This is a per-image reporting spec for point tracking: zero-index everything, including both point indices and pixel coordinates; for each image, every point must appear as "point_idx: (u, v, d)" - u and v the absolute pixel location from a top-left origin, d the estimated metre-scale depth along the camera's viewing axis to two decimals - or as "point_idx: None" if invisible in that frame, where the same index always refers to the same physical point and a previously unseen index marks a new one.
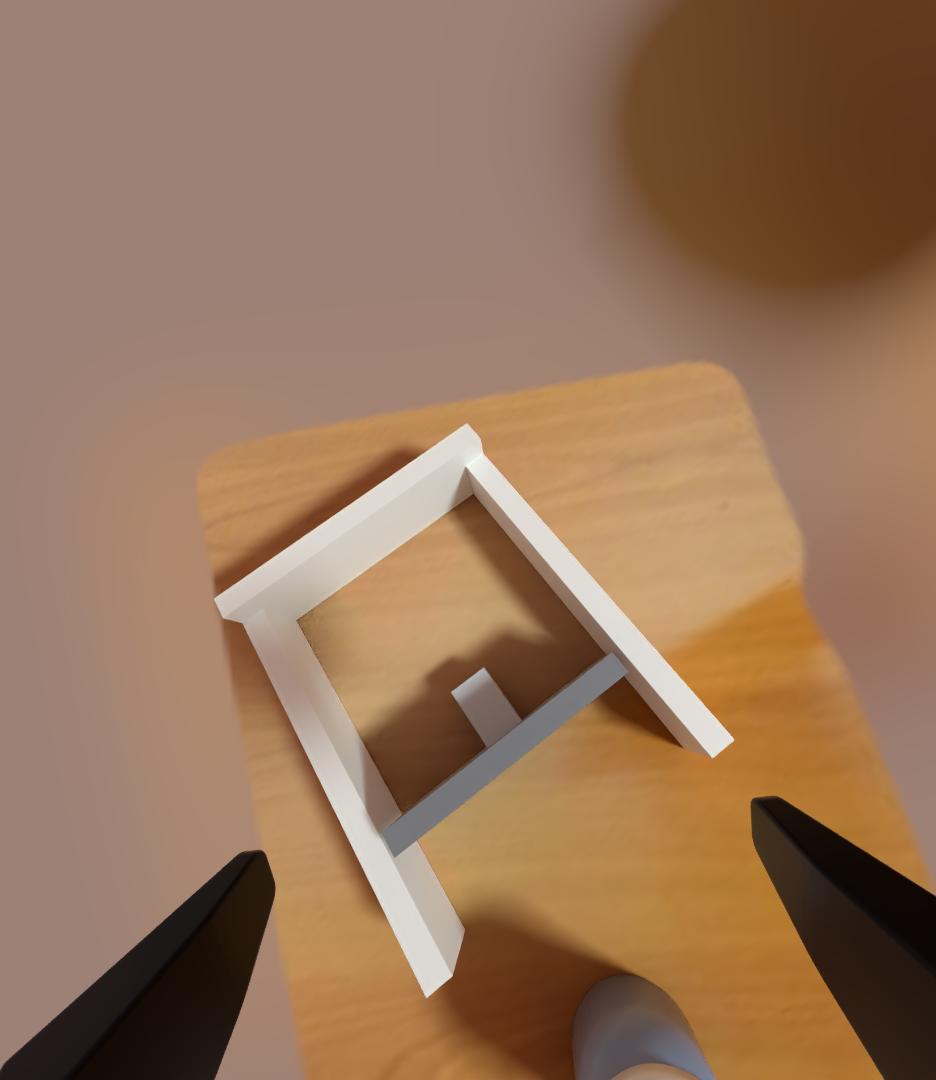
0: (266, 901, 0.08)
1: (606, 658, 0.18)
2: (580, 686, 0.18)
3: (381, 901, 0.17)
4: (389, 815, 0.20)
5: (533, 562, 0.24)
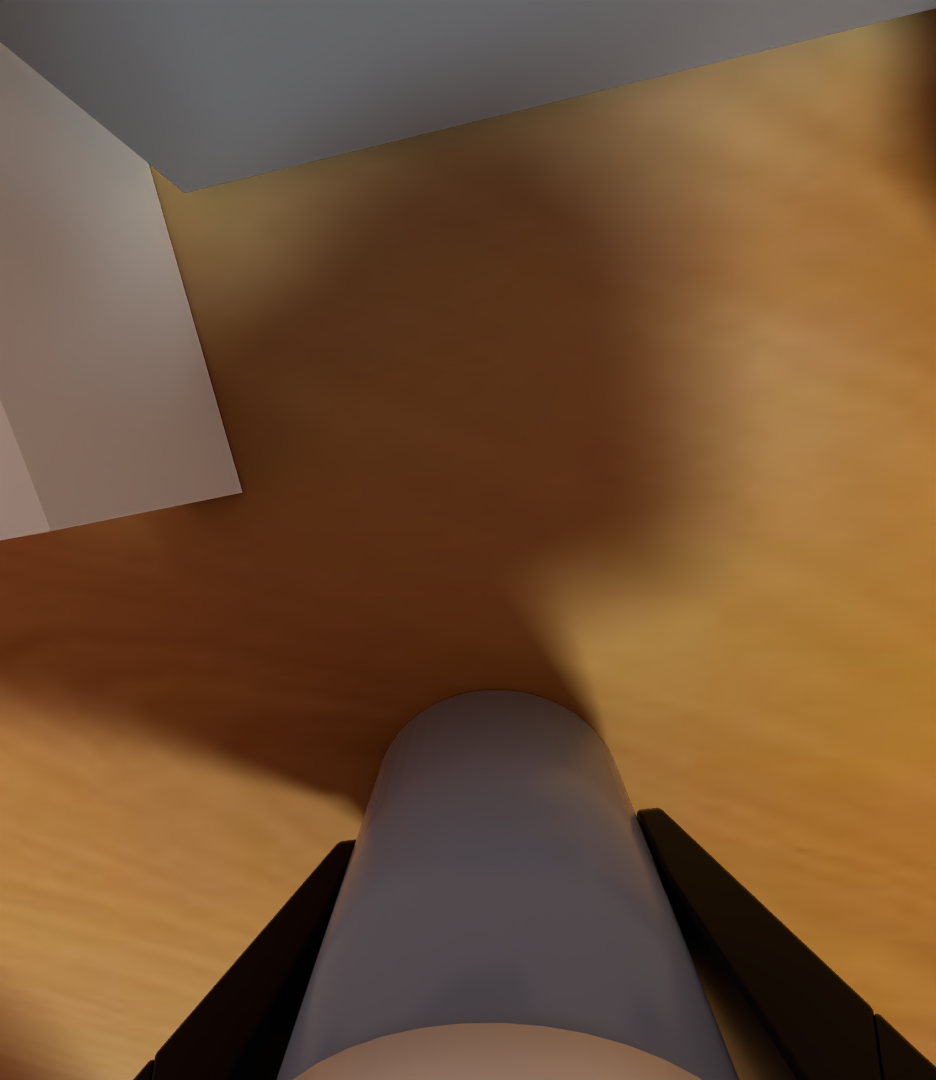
0: None
1: None
2: None
3: None
4: None
5: None
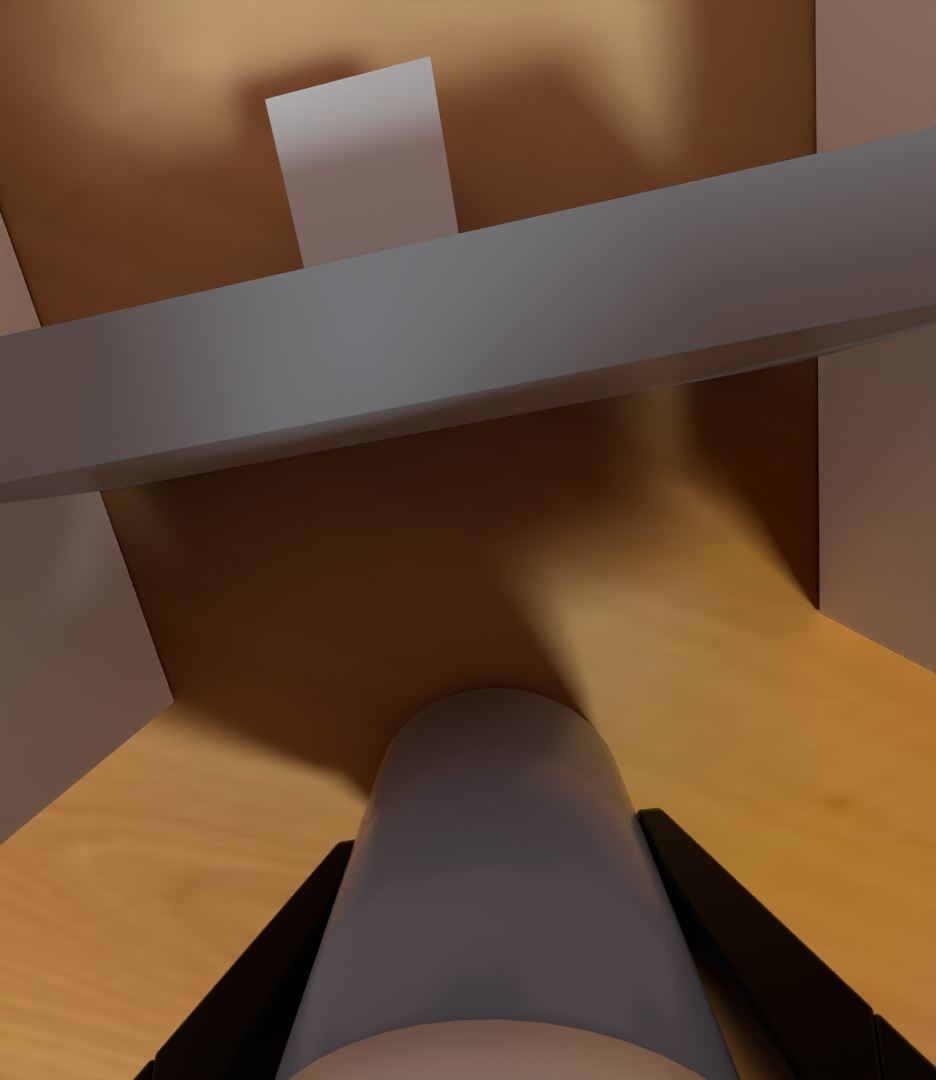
0: None
1: None
2: None
3: None
4: None
5: None
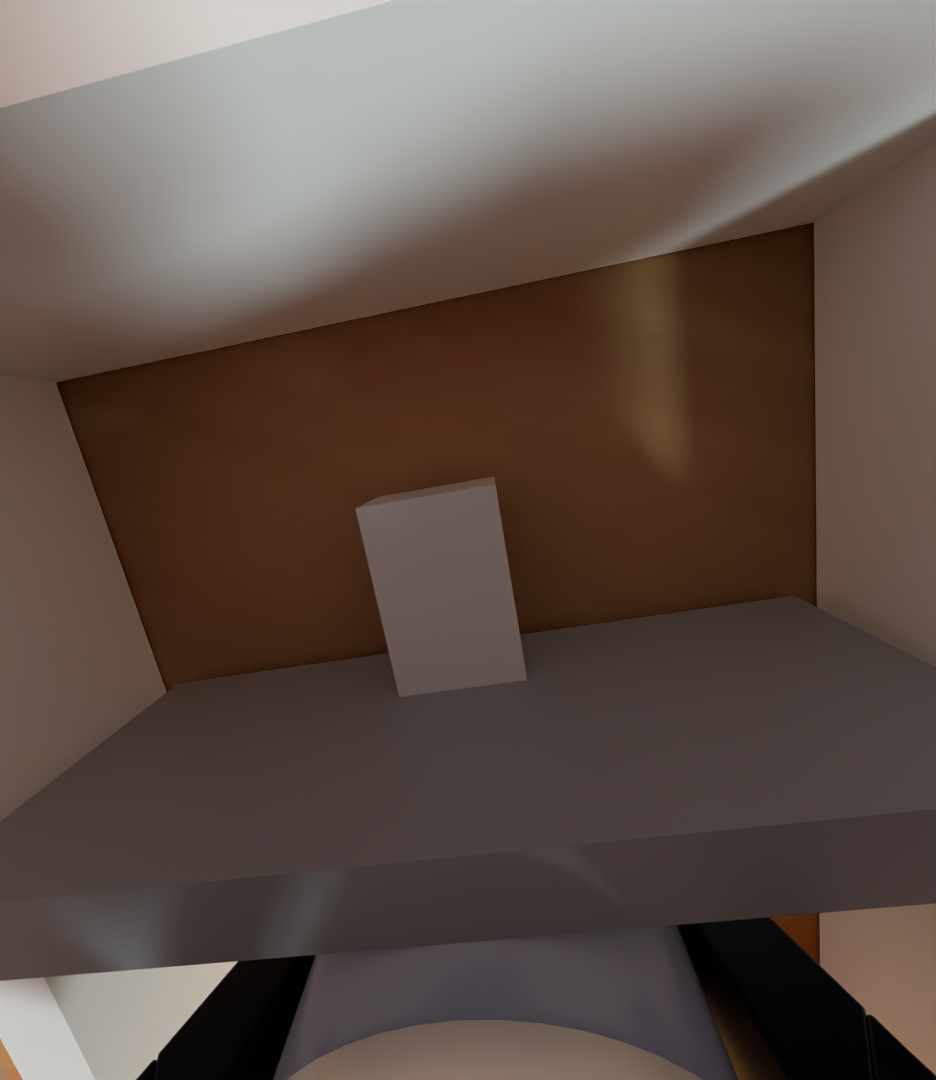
0: None
1: None
2: (904, 843, 0.04)
3: None
4: (198, 967, 0.09)
5: (851, 596, 0.07)
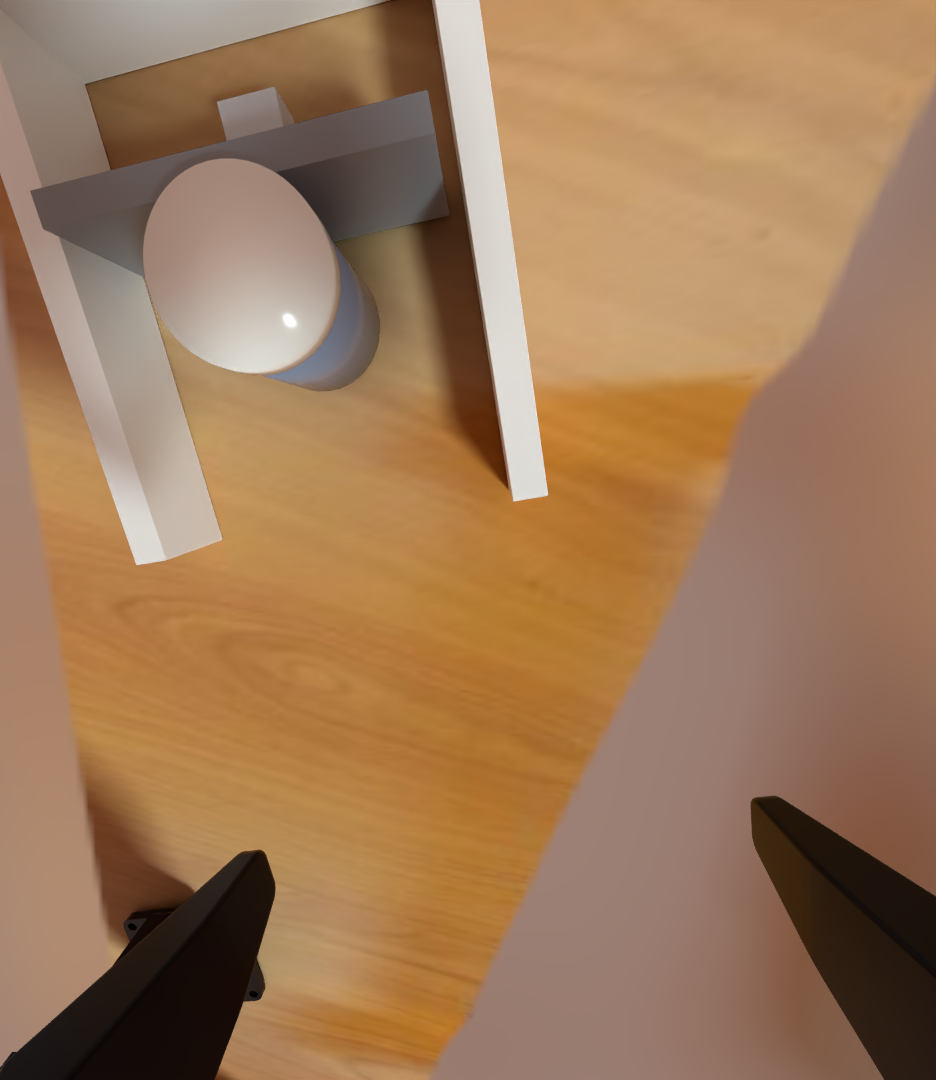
0: (266, 901, 0.08)
1: (414, 95, 0.12)
2: (359, 120, 0.12)
3: (106, 472, 0.16)
4: (156, 405, 0.17)
5: (459, 171, 0.15)
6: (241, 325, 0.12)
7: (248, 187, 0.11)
